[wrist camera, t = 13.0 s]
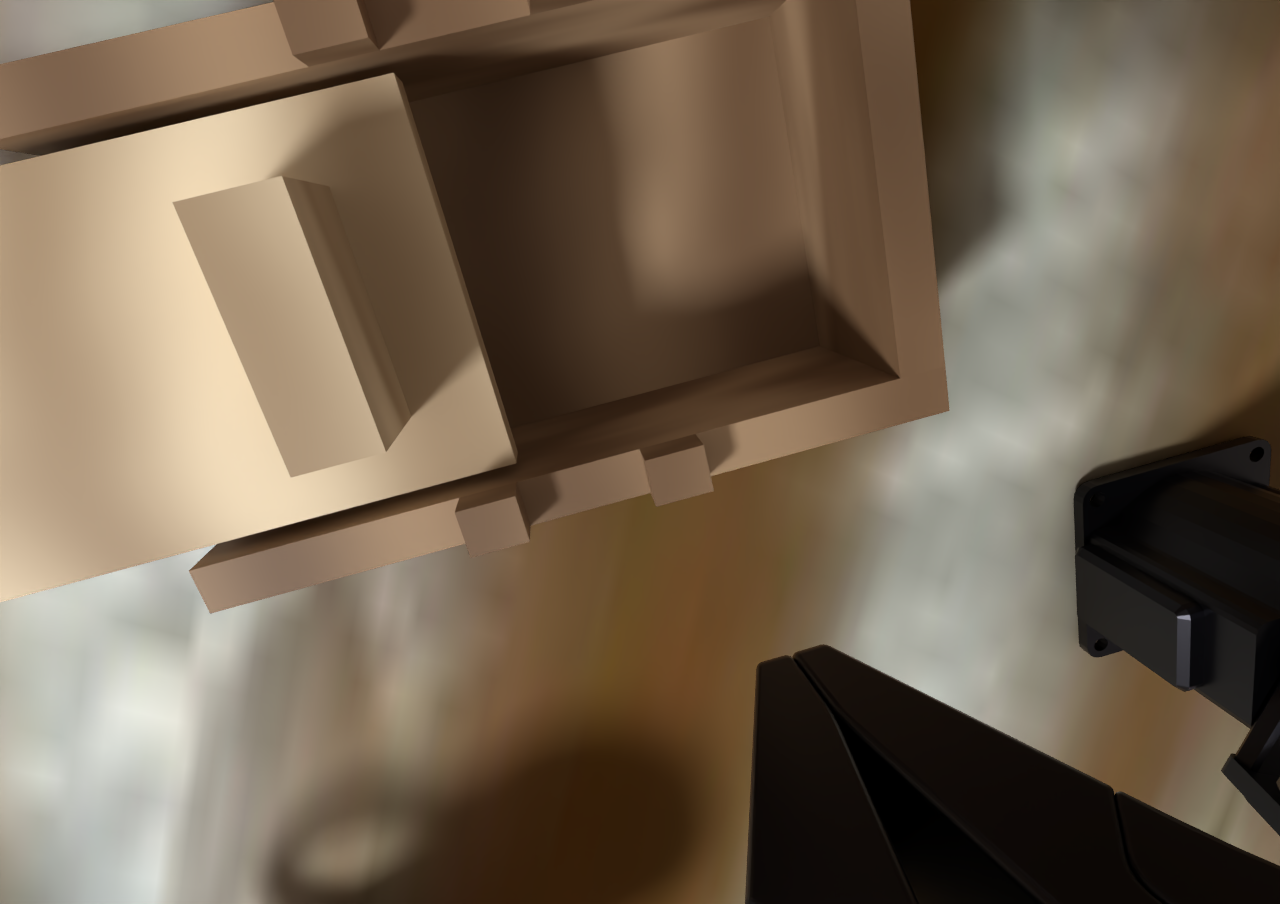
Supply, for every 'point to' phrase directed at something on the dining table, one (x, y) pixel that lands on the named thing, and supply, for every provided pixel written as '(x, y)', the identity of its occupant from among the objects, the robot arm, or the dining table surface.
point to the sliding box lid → (229, 335)
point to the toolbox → (593, 232)
